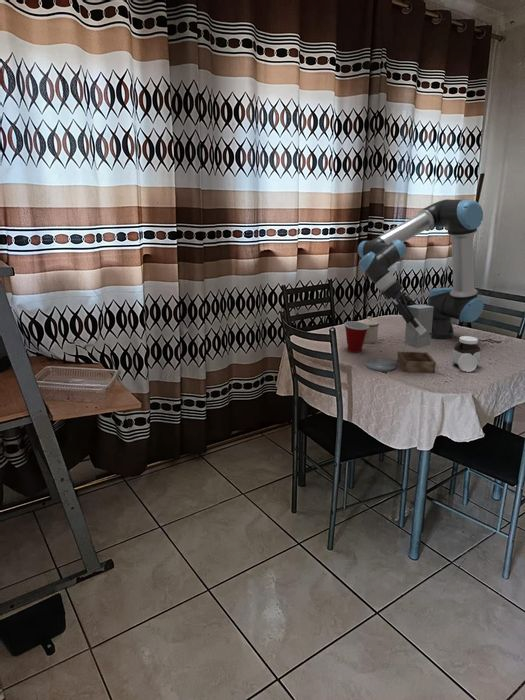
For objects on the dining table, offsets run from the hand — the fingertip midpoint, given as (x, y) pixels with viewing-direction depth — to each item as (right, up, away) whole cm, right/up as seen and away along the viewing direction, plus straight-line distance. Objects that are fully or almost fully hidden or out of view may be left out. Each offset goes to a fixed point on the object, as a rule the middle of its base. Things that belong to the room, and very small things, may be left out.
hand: (426, 329), depth 191 cm
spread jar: (+18, -15, +5) cm, 24 cm away
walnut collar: (-2, -15, +6) cm, 16 cm away
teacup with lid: (-16, -4, +40) cm, 43 cm away
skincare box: (-2, -6, +4) cm, 7 cm away
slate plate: (-16, -15, +6) cm, 23 cm away
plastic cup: (-23, -8, +26) cm, 36 cm away
